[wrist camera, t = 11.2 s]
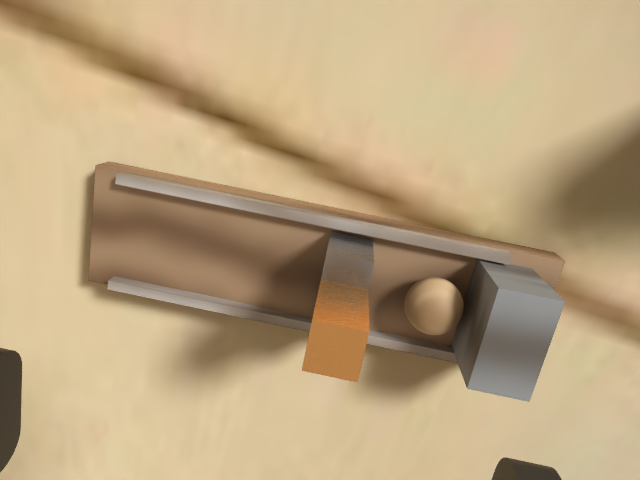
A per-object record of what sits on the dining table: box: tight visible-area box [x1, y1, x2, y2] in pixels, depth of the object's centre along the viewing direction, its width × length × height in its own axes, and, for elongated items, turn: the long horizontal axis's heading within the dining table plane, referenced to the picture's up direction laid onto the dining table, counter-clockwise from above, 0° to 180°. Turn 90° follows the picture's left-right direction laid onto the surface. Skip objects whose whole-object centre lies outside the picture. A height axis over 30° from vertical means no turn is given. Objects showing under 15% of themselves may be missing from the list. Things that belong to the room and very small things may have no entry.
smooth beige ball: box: [405, 277, 464, 335], centre depth 35 cm, size 4×4×4 cm
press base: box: [88, 162, 565, 402], centre depth 35 cm, size 9×34×8 cm, turn 79°
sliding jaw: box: [302, 231, 374, 382], centre depth 32 cm, size 7×3×11 cm, turn 169°
